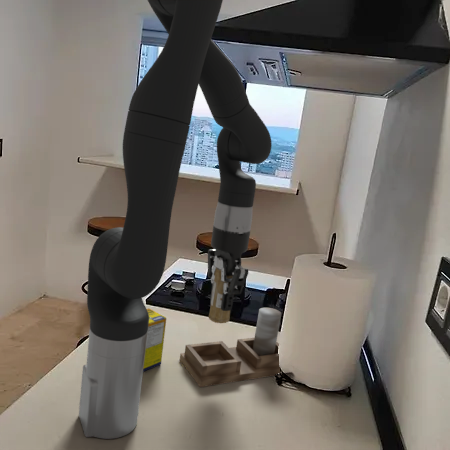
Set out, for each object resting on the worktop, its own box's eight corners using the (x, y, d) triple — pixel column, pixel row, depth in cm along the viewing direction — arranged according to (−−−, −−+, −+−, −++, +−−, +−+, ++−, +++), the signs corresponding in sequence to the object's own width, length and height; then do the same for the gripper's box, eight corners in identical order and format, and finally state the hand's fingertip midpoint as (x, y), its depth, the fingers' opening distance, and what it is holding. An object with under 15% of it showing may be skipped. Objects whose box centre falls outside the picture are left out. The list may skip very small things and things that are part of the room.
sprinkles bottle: (222, 326, 94) (231, 263, 91) (203, 319, 96) (212, 257, 93) (233, 319, 98) (242, 259, 95) (215, 312, 100) (223, 253, 97)
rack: (200, 387, 92) (208, 329, 90) (179, 359, 102) (186, 306, 99) (292, 372, 103) (302, 321, 101) (266, 348, 113) (275, 301, 110)
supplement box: (143, 353, 102) (148, 307, 100) (161, 364, 98) (167, 317, 96) (121, 361, 98) (126, 313, 95) (140, 373, 94) (145, 324, 92)
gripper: (200, 216, 97) (190, 293, 100) (232, 235, 85) (220, 321, 88) (231, 217, 100) (221, 291, 104) (266, 235, 88) (253, 318, 92)
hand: (220, 304), depth 96 cm, fingers closed on sprinkles bottle, 4 cm apart
